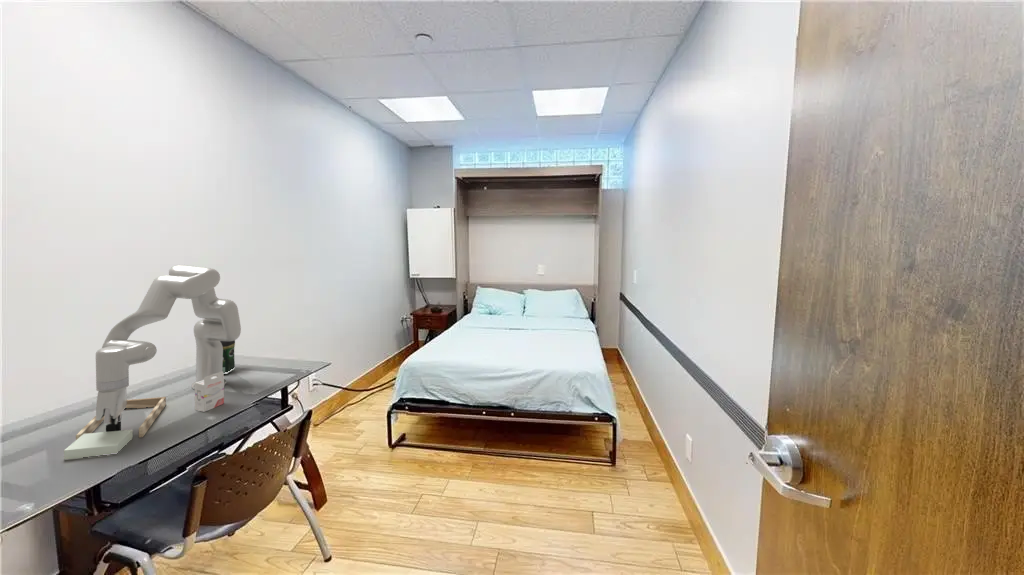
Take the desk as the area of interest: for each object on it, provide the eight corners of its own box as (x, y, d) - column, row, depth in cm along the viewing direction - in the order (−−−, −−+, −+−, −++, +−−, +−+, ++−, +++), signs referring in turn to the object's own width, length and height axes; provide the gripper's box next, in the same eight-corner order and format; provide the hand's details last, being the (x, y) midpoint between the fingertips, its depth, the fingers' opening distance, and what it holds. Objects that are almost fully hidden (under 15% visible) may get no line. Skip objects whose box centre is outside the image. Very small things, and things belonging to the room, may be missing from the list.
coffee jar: (220, 368, 191) (220, 334, 189) (237, 369, 193) (238, 335, 191) (208, 375, 182) (209, 339, 180) (226, 376, 183) (227, 340, 181)
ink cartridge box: (214, 401, 158) (215, 368, 157) (224, 403, 157) (225, 370, 156) (193, 410, 150) (194, 375, 148) (203, 412, 149) (204, 377, 147)
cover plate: (84, 443, 123) (84, 433, 122) (132, 439, 128) (132, 429, 128) (64, 460, 114) (63, 450, 113) (117, 455, 119) (117, 445, 119)
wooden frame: (110, 409, 143) (110, 401, 143) (165, 404, 151) (165, 396, 151) (76, 445, 121) (75, 435, 121) (142, 437, 129) (142, 427, 129)
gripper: (107, 375, 129) (108, 425, 132) (85, 393, 117) (87, 447, 119) (136, 374, 133) (136, 422, 135) (119, 391, 120) (119, 443, 123)
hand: (113, 433), depth 127 cm, fingers closed
